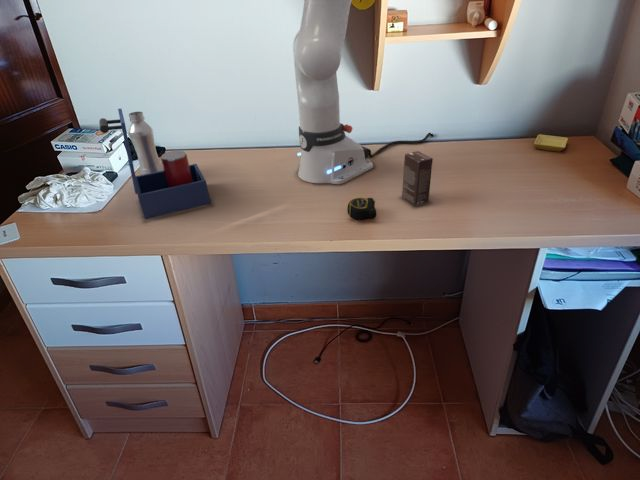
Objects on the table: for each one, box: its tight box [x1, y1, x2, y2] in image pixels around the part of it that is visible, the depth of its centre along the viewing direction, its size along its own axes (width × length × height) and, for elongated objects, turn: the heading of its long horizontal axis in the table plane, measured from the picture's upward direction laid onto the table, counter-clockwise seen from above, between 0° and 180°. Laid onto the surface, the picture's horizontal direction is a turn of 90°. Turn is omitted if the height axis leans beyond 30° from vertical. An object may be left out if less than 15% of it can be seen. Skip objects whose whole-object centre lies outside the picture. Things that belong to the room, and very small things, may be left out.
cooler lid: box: [98, 108, 139, 195], centre depth 108 cm, size 17×13×5 cm
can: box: [160, 150, 193, 188], centre depth 117 cm, size 6×6×12 cm
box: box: [401, 150, 434, 207], centre depth 111 cm, size 6×4×12 cm
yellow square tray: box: [533, 133, 569, 152], centre depth 138 cm, size 9×9×2 cm
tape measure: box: [346, 197, 377, 222], centre depth 108 cm, size 7×7×4 cm
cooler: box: [135, 163, 211, 220], centre depth 118 cm, size 17×13×7 cm
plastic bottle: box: [128, 111, 164, 175], centre depth 128 cm, size 6×7×20 cm
